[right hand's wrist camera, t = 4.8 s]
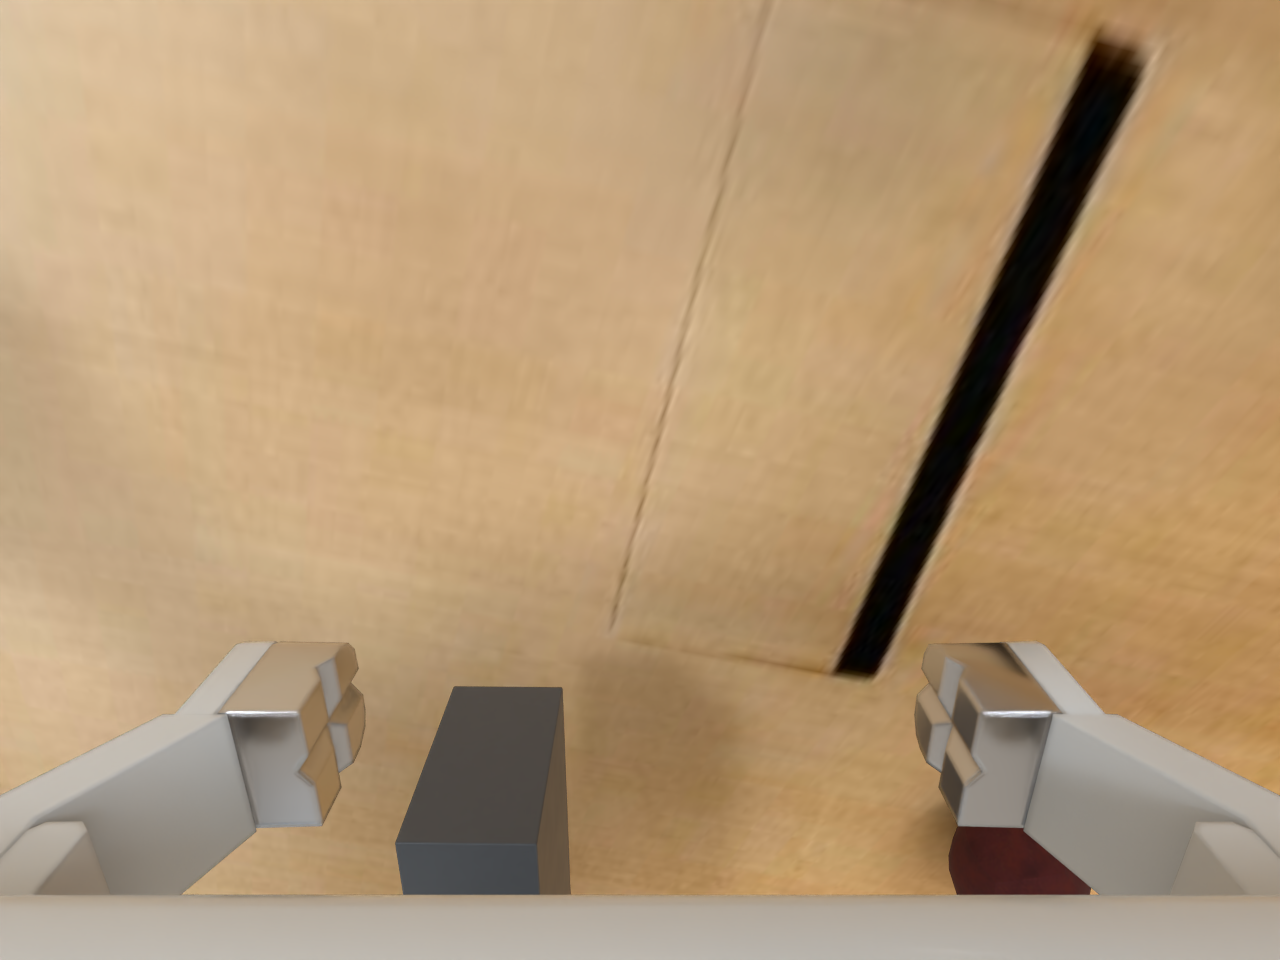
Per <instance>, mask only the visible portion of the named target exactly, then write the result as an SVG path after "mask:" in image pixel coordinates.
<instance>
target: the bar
mask: <svg viewBox="0 0 1280 960" xmlns="http://www.w3.org/2000/svg"><path fill="white" fill-rule="evenodd" d="M395 845H396V851H397V858H398V864H399V871H400V877H401V883H402V890H403V895H571V891H570V866H569V841H568V815H567V790H566V765H565V739H564V714H563V689H562V688H561V687H466V686H455V687H454V688H453V691H452V693H451V696H450V699H449V701H448V704H447V707H446V709H445V712H444V715H443V717H442V720H441V723H440V725H439V728H438V731H437V733H436V736H435V739H434V741H433V744H432V746H431V749H430V752H429V754H428V757H427V760H426V762H425V765H424V768H423V770H422V773H421V776H420V778H419V781H418V784H417V786H416V789H415V792H414V794H413V797H412V800H411V802H410V805H409V808H408V810H407V813H406V816H405V818H404V821H403V824H402V826H401V829H400V832H399V834H398V837H397V840H396V842H395Z"/></svg>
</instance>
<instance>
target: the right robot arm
mask: <svg viewBox="0 0 1280 960" xmlns="http://www.w3.org/2000/svg"><path fill="white" fill-rule="evenodd" d="M358 669H359V668H358V663H357V659H356V654H355V649H354V648H353V647H352V646H351V645H350V644H349V643H328V642H275V641H245V642H242V643H239V644H236V645H235V646H234V647H233V648H232V649H231V650H230V652H229V653H228V654H227V655H226V656H225V657H224V658H223V660H222V661H221V662H220V663H219V664H218V665H217V666H216V667H215V669H214V670H213V671H212V672H211V673H210V674H209V675H208V677H207V678H206V679H205V680H204V681H203V682H202V683H201V685H200V686H199V687H198V688H197V689H196V690H195V691H194V693H193V694H192V695H191V696H190V697H189V698H188V699H187V700H186V702H185V703H184V704H183V705H182V706H181V707H180V708H179V710H178V711H177V712H176V713H175V714H162V715H160V716H158V717H156V718H154V719H152V720H150V721H148V722H146V723H144V724H142V725H140V726H138V727H136V728H134V729H132V730H130V731H128V732H126V733H124V734H122V735H120V736H118V737H116V738H114V739H112V740H110V741H108V742H106V743H104V744H102V745H100V746H98V747H96V748H94V749H92V750H90V751H88V752H86V753H84V754H82V755H80V756H78V757H76V758H74V759H72V760H70V761H68V762H66V763H64V764H62V765H60V766H58V767H56V768H54V769H52V770H50V771H48V772H46V773H44V774H42V775H40V776H38V777H36V778H34V779H32V780H30V781H28V782H26V783H24V784H22V785H20V786H18V787H16V788H14V789H12V790H10V791H8V792H6V793H4V794H2V795H0V960H1280V795H1278V794H1276V793H1274V792H1272V791H1270V790H1268V789H1266V788H1264V787H1262V786H1260V785H1258V784H1256V783H1254V782H1252V781H1250V780H1248V779H1246V778H1244V777H1242V776H1240V775H1238V774H1236V773H1234V772H1232V771H1230V770H1228V769H1226V768H1224V767H1222V766H1220V765H1218V764H1216V763H1214V762H1212V761H1210V760H1208V759H1206V758H1204V757H1202V756H1200V755H1198V754H1196V753H1194V752H1192V751H1190V750H1188V749H1186V748H1184V747H1182V746H1180V745H1178V744H1176V743H1174V742H1172V741H1170V740H1168V739H1166V738H1164V737H1162V736H1160V735H1158V734H1156V733H1154V732H1152V731H1150V730H1148V729H1146V728H1144V727H1142V726H1140V725H1138V724H1136V723H1134V722H1132V721H1130V720H1128V719H1126V718H1124V717H1122V716H1120V715H1118V714H1105V713H1104V712H1103V711H1102V710H1101V708H1100V707H1099V706H1098V705H1097V704H1096V703H1095V702H1094V701H1093V699H1092V698H1091V697H1090V696H1089V695H1088V694H1087V693H1086V691H1085V690H1084V689H1083V688H1082V687H1081V686H1080V685H1079V683H1078V682H1077V681H1076V680H1075V679H1074V678H1073V677H1072V675H1071V674H1070V673H1069V672H1068V671H1067V670H1066V669H1065V667H1064V666H1063V665H1062V664H1061V663H1060V662H1059V661H1058V660H1057V658H1056V657H1055V656H1054V655H1053V654H1052V653H1051V652H1050V650H1049V649H1048V648H1047V647H1046V646H1045V645H1044V644H1042V643H1039V642H1037V641H1017V642H1000V643H954V644H929V645H928V647H927V649H926V651H925V653H924V657H923V663H922V668H921V669H922V671H923V672H924V674H925V676H926V678H927V679H928V681H929V683H928V684H927V685H926V686H925V687H924V688H923V689H922V690H921V691H920V692H919V693H918V694H917V698H916V706H915V714H914V716H915V728H916V736H917V740H918V743H919V747H920V750H921V752H922V754H923V756H924V758H925V760H926V763H928V764H929V765H931V766H932V767H933V768H935V769H936V770H938V771H939V772H941V777H940V782H939V789H940V791H941V793H942V795H943V797H944V799H945V801H946V803H947V805H948V807H949V809H950V811H951V813H952V815H953V817H954V819H955V821H956V823H957V825H958V826H972V827H1008V828H1024V830H1023V831H1024V832H1025V833H1026V834H1028V835H1029V836H1030V837H1031V838H1032V839H1034V840H1035V841H1036V842H1037V843H1038V844H1040V845H1041V846H1042V847H1043V848H1044V849H1046V850H1047V851H1048V852H1049V853H1050V854H1051V855H1053V856H1054V857H1055V858H1056V859H1057V860H1059V861H1060V862H1061V863H1062V864H1063V865H1065V866H1066V867H1067V868H1068V869H1069V870H1071V871H1072V872H1073V873H1074V874H1075V875H1077V876H1078V877H1079V878H1080V879H1081V880H1082V881H1084V882H1085V883H1086V884H1087V885H1088V886H1090V887H1091V888H1092V889H1093V890H1094V891H1096V892H1097V893H1098V894H1099V895H181V894H182V893H183V892H185V891H186V890H187V889H188V888H189V887H191V886H192V885H193V884H194V883H195V882H197V881H198V880H199V879H200V878H201V877H203V876H204V875H205V874H206V873H207V872H208V871H210V870H211V869H212V868H213V867H214V866H216V865H217V864H218V863H219V862H220V861H222V860H223V859H224V858H225V857H226V856H228V855H229V854H230V853H231V852H232V851H234V850H235V849H236V848H237V847H238V846H240V845H241V844H242V843H243V842H244V841H246V840H247V839H248V838H249V837H250V836H252V835H253V834H254V833H255V832H256V828H271V827H306V826H322V825H323V823H324V821H325V819H326V817H327V815H328V813H329V811H330V809H331V807H332V805H333V803H334V801H335V799H336V797H337V795H338V793H339V791H340V789H341V782H340V777H339V772H341V771H342V770H344V769H345V768H347V767H348V766H349V765H351V764H352V763H354V760H355V758H356V756H357V754H358V752H359V750H360V747H361V743H362V739H363V734H364V729H365V704H364V698H363V694H362V693H361V692H360V691H359V690H358V689H357V688H356V687H355V686H354V685H353V684H352V683H351V681H352V679H353V678H354V676H355V674H356V672H357V671H358Z"/></svg>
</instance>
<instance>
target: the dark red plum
mask: <svg viewBox="0 0 1280 960" xmlns="http://www.w3.org/2000/svg"><path fill="white" fill-rule="evenodd" d="M1023 830H1024V828H1008V827H972V826H958V828H957V830H956V832H955V835H954V837H953V840H952V844H951V848H950V852H949V871H950V874H951V877H952V880H953V883H954V887H955V890H956V893H957V895H1090V891H1091V887H1090V886H1088V885H1087V884H1086V883H1085V882H1084V881H1082V880H1081V879H1080V878H1079V877H1078V876H1077V875H1075V874H1074V873H1073V872H1072V871H1071V870H1069V869H1068V868H1067V867H1066V866H1065V865H1063V864H1062V863H1061V862H1060V861H1059V860H1057V859H1056V858H1055V857H1054V856H1053V855H1051V854H1050V853H1049V852H1048V851H1047V850H1046V849H1044V848H1043V847H1042V846H1041V845H1040V844H1038V843H1037V842H1036V841H1035V840H1034V839H1032V838H1031V837H1030V836H1029V835H1028V834H1026V833H1025V832H1024V831H1023Z"/></svg>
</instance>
